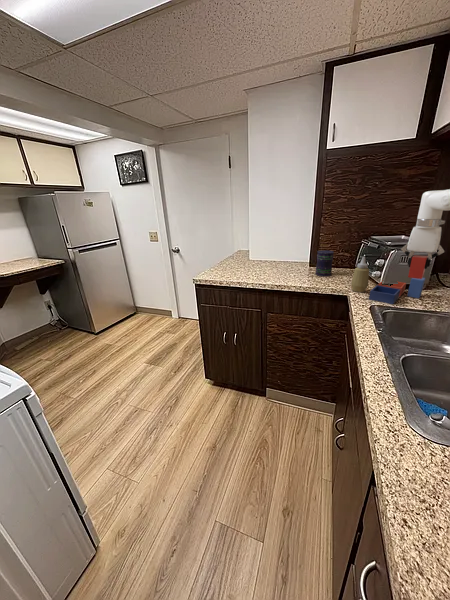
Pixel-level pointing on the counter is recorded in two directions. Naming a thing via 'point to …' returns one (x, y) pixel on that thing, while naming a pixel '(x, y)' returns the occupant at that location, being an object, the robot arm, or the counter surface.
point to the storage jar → (324, 263)
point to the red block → (417, 267)
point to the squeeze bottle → (360, 277)
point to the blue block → (416, 287)
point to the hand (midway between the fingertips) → (417, 267)
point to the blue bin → (384, 294)
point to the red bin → (396, 286)
